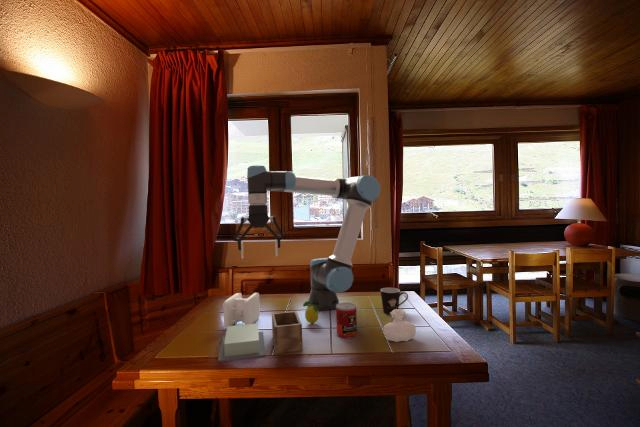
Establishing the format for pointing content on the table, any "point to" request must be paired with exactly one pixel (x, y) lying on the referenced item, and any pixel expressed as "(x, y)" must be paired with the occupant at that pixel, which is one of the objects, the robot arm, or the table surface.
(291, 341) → the box
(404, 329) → the bust
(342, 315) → the canned food
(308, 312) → the lemon
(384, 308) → the coffee mug
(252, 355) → the mat
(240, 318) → the cable organizer
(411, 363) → the table surface
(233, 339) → the lid
